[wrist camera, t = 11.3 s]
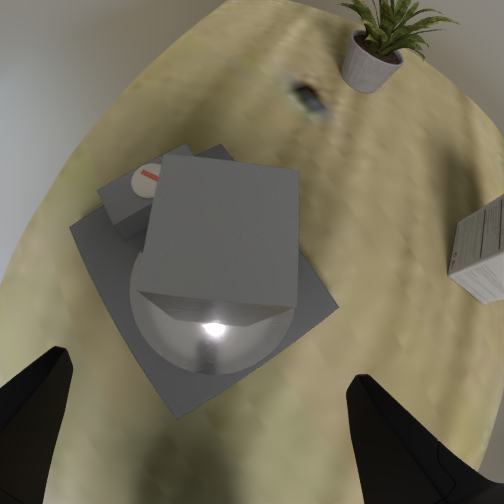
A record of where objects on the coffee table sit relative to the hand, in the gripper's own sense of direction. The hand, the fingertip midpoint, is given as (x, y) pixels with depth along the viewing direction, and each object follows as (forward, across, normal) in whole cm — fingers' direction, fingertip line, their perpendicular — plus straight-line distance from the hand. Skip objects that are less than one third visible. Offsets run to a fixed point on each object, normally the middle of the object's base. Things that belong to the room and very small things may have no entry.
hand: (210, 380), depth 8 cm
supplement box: (+17, -28, +3) cm, 32 cm away
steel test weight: (+10, 0, +4) cm, 11 cm away
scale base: (+14, +1, +5) cm, 15 cm away
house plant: (+34, -16, -14) cm, 40 cm away
